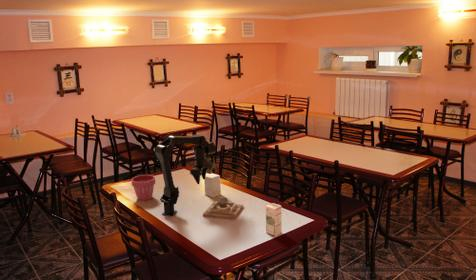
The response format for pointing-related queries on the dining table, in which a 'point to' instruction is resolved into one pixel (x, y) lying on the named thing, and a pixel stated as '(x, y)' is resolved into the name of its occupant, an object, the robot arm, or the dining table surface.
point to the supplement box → (212, 185)
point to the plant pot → (143, 186)
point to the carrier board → (223, 211)
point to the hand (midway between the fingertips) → (201, 181)
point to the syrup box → (273, 219)
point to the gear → (223, 204)
